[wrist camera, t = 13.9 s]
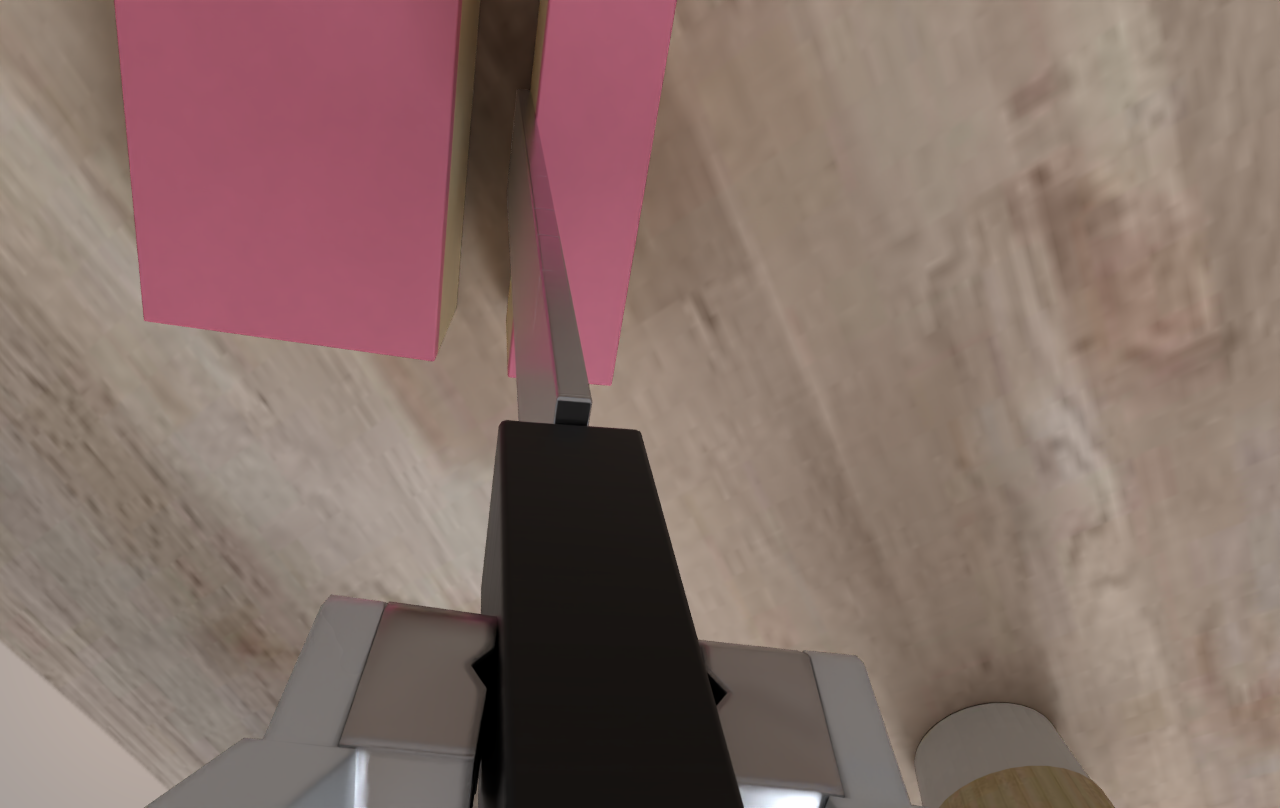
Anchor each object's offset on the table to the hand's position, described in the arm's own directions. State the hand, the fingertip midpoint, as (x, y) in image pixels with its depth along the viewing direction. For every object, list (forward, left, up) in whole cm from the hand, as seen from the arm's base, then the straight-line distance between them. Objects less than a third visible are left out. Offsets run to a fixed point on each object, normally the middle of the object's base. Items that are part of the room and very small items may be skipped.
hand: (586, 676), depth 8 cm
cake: (-8, 0, -21) cm, 23 cm away
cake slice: (-1, 0, -21) cm, 21 cm away
